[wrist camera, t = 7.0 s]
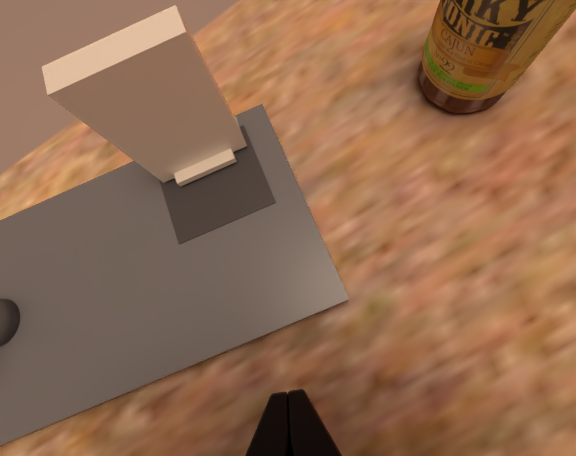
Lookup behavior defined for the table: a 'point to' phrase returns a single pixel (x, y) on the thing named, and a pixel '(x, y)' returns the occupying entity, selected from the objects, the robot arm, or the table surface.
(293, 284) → the switch panel
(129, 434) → the table surface
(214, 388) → the table surface
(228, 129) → the ivory paddle
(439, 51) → the sauce bottle
